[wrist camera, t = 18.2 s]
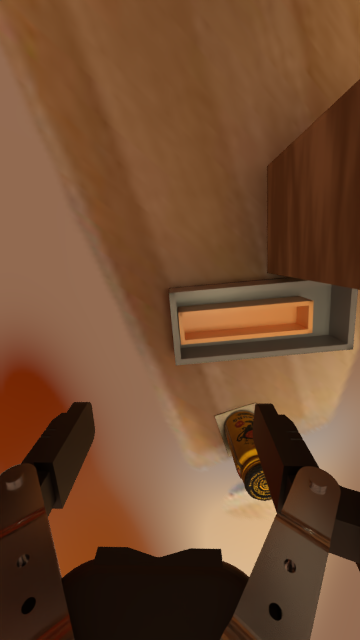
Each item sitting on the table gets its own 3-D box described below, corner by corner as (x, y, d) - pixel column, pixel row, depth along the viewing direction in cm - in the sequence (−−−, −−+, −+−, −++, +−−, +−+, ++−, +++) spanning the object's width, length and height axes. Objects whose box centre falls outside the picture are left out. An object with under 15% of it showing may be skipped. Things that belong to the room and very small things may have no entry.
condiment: (256, 402, 43) (287, 456, 31) (268, 443, 45) (302, 508, 33) (214, 415, 43) (229, 474, 32) (228, 455, 45) (247, 524, 34)
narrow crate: (180, 335, 39) (181, 344, 35) (177, 306, 38) (178, 312, 34) (298, 325, 39) (312, 333, 35) (299, 296, 38) (313, 300, 34)
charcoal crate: (175, 352, 40) (175, 365, 35) (169, 288, 38) (168, 293, 33) (331, 338, 40) (352, 349, 36) (335, 273, 38) (359, 276, 33)
